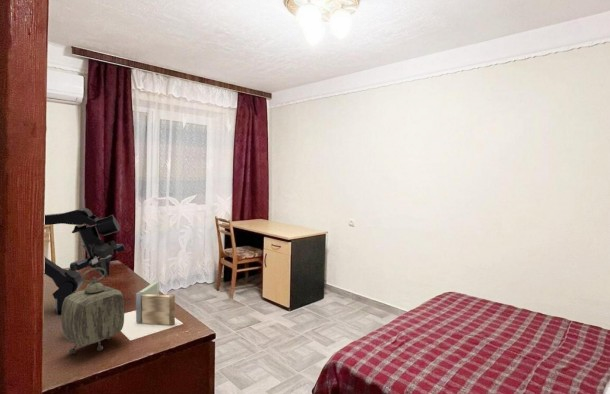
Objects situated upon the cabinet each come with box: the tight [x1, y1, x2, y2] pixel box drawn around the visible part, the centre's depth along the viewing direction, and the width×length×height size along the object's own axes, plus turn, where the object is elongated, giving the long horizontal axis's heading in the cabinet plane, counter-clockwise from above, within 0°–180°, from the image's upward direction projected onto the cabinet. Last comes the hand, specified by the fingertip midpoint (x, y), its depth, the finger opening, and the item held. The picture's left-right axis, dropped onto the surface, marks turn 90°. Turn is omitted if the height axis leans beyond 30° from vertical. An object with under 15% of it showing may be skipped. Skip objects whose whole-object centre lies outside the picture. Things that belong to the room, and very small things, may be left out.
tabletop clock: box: [60, 267, 125, 355], centre depth 102 cm, size 14×9×25 cm, turn 150°
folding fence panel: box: [135, 280, 160, 323], centre depth 126 cm, size 14×2×10 cm, turn 178°
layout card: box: [120, 309, 184, 341], centre depth 122 cm, size 18×23×1 cm
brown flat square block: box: [141, 294, 176, 326], centre depth 120 cm, size 12×2×11 cm, turn 86°
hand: (106, 276), depth 133 cm, fingers closed
